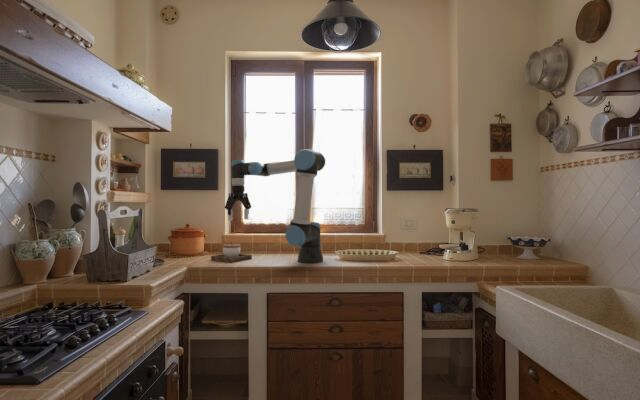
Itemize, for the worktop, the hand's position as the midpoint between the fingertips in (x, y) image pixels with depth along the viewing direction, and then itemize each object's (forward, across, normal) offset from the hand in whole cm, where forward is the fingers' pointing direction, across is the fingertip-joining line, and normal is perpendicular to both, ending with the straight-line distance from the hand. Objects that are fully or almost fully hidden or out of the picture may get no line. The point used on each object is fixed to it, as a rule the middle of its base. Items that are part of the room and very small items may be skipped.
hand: (238, 220), depth 240 cm
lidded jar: (+23, +4, -2) cm, 23 cm away
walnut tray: (+24, +4, -2) cm, 24 cm away
